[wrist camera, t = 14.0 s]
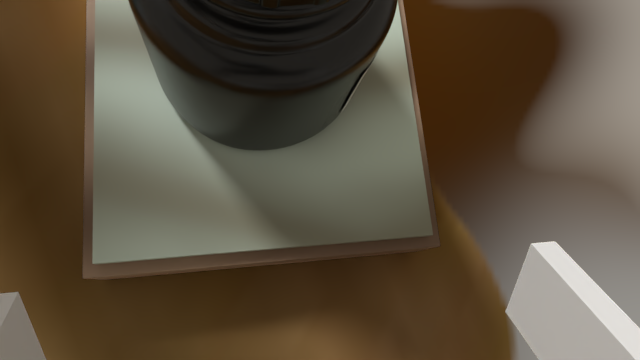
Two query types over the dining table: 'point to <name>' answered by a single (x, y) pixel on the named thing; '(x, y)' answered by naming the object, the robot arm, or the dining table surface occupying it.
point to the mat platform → (244, 171)
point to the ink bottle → (261, 63)
